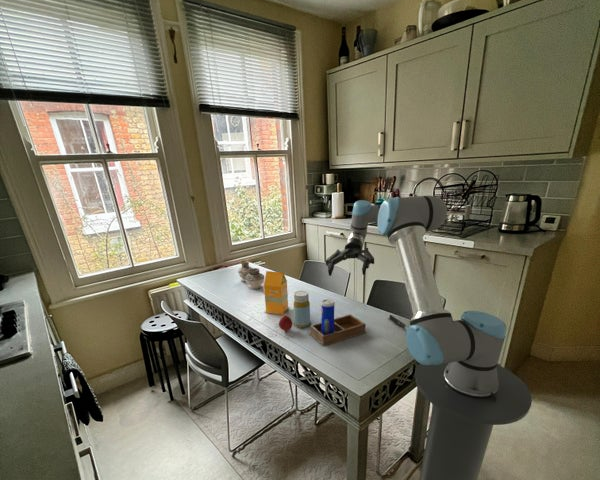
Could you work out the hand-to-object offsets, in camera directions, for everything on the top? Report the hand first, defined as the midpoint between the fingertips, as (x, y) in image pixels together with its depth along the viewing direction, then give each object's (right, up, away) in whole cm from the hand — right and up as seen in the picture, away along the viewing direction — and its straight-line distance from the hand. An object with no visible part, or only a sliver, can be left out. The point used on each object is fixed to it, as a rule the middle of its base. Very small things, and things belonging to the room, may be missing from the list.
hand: (346, 272), depth 125 cm
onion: (-24, -24, +12) cm, 36 cm away
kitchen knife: (+26, -23, +11) cm, 36 cm away
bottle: (-17, -22, +17) cm, 32 cm away
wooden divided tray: (-2, -25, +8) cm, 26 cm away
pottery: (-48, 0, +65) cm, 81 cm away
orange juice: (-29, -16, +31) cm, 45 cm away
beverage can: (-7, -25, +6) cm, 27 cm away
